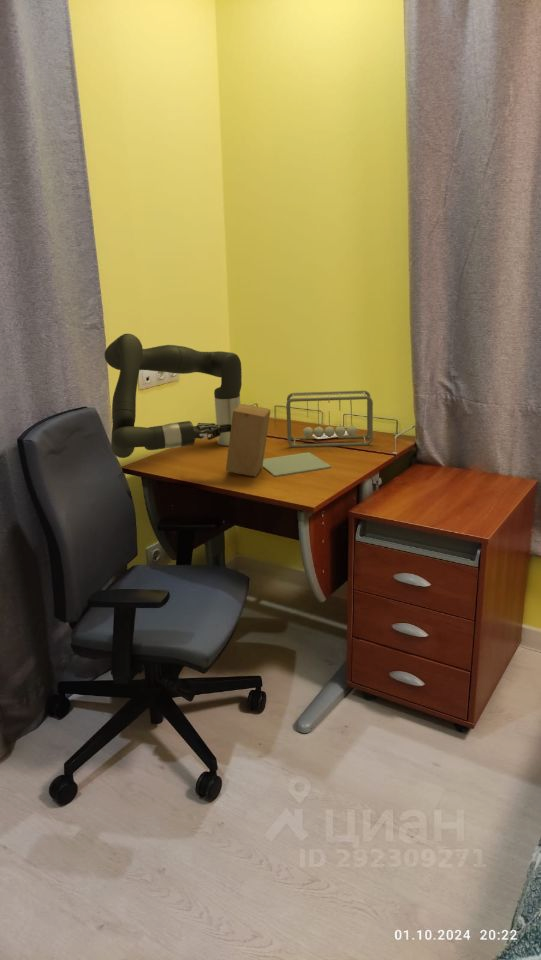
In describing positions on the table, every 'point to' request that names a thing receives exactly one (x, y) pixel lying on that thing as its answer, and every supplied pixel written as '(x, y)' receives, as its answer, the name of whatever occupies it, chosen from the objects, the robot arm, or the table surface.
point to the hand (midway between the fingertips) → (231, 427)
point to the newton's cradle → (329, 430)
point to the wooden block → (247, 439)
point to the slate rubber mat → (294, 464)
